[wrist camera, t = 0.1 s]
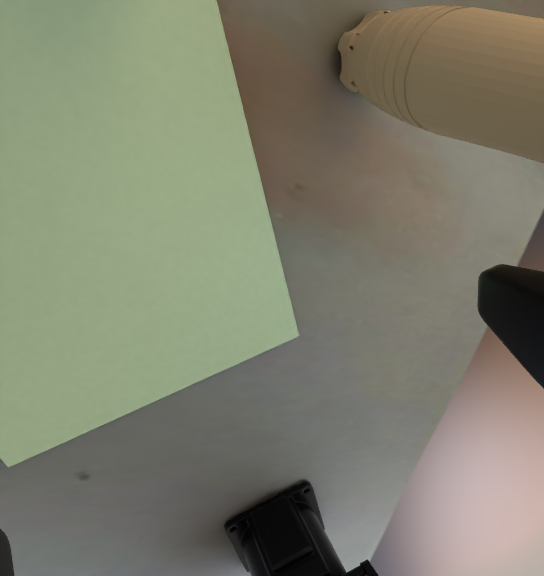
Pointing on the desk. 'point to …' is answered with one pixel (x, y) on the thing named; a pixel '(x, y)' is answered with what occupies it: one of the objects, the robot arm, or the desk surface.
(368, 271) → the desk surface
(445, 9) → the handle
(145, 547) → the desk surface
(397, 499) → the desk surface
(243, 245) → the mat
